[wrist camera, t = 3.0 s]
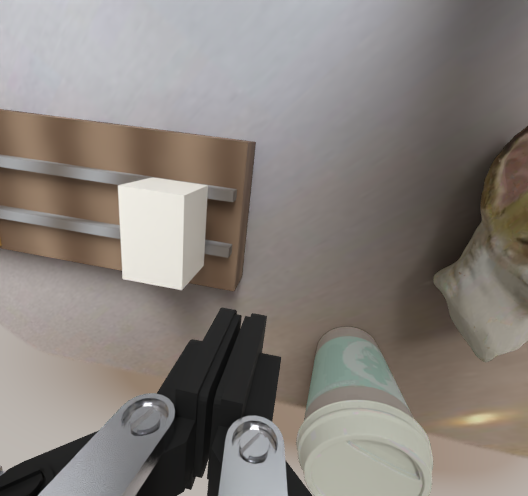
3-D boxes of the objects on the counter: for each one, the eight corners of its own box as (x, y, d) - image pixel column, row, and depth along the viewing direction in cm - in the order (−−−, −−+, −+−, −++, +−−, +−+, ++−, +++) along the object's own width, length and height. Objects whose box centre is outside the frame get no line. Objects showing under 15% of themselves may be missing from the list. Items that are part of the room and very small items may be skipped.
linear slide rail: (255, 142, 24) (244, 142, 21) (242, 276, 29) (231, 297, 25) (-49, 102, 27) (-106, 96, 24) (-21, 229, 32) (-66, 241, 28)
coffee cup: (408, 371, 29) (465, 514, 18) (326, 396, 32) (332, 536, 21) (370, 299, 27) (407, 409, 16) (287, 332, 30) (269, 448, 19)
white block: (216, 181, 23) (184, 195, 17) (212, 256, 25) (182, 290, 19) (165, 174, 23) (117, 185, 17) (165, 248, 25) (122, 279, 20)
